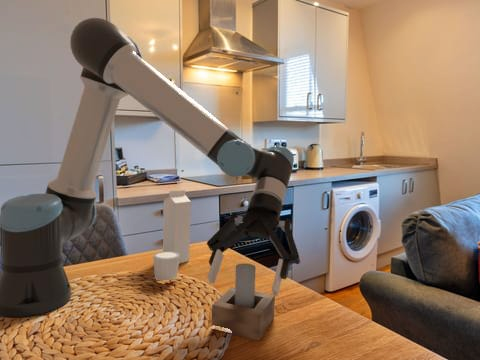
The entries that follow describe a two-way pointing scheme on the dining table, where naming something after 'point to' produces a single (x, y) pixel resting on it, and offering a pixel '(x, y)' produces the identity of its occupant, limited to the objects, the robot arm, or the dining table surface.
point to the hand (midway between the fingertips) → (241, 286)
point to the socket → (244, 314)
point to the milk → (177, 224)
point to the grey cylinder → (245, 285)
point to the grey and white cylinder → (166, 265)
